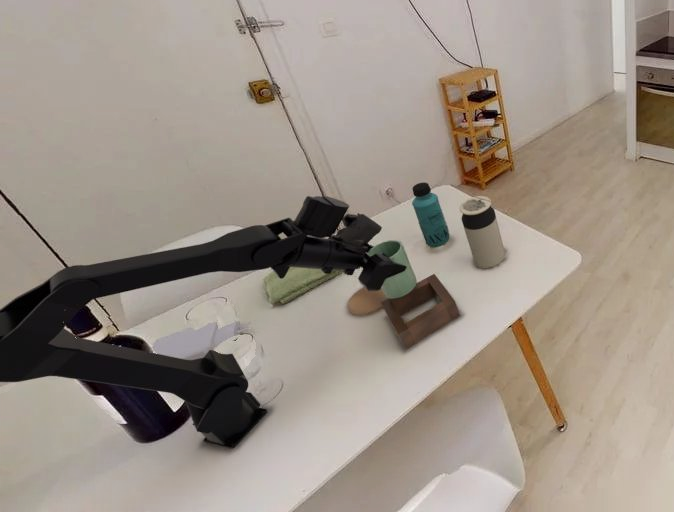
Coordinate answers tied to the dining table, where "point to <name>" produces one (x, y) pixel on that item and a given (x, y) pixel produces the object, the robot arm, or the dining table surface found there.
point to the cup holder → (425, 321)
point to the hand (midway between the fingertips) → (397, 261)
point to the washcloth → (294, 283)
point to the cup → (398, 282)
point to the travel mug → (482, 231)
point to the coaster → (366, 301)
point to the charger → (196, 340)
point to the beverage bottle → (430, 216)
